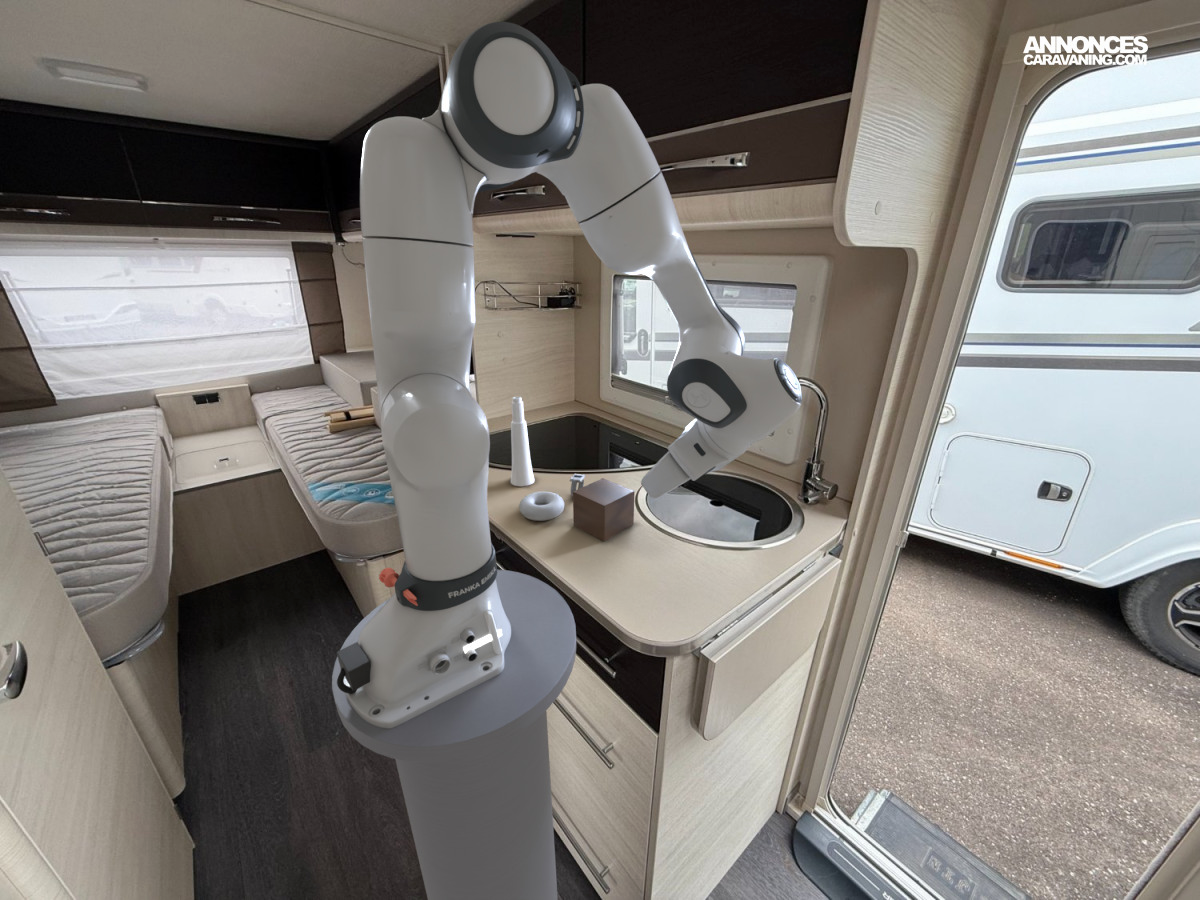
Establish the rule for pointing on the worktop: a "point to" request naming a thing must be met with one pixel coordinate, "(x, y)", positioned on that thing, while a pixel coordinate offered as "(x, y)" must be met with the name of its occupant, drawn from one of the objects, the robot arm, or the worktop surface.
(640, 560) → the worktop surface
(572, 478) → the wristwatch
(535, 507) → the donut
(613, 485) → the walnut block
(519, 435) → the cosmetic bottle
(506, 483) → the worktop surface
